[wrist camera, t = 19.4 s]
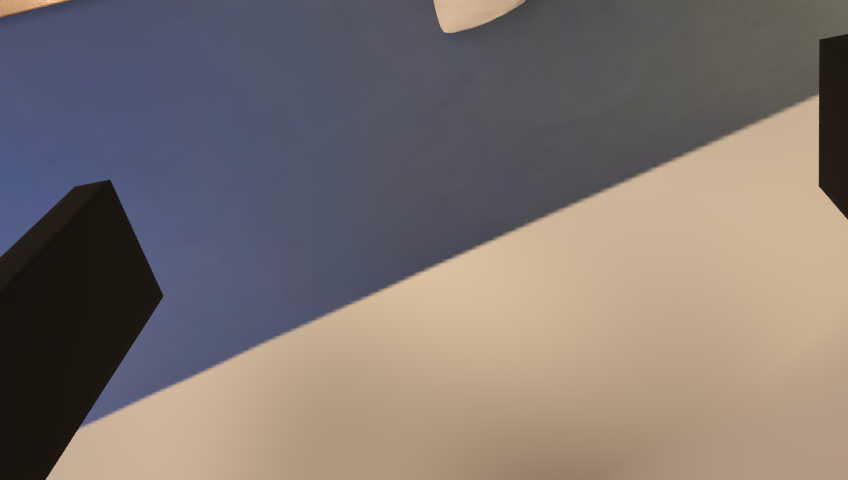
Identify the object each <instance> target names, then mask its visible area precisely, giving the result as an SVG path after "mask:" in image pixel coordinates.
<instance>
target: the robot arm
mask: <svg viewBox="0 0 848 480" xmlns="http://www.w3.org/2000/svg"><path fill="white" fill-rule="evenodd" d="M819 187H820V188H821V189H822V190H823V191H824V193H825V194H826V195H827V196H828V197H829V198H830V199H831V201H832V202H833V203H834V204H835V205H836V206H837V208H838V209H839V210H840V211H841V212H842V213H843V214H844V216H845V217H846V218H847V219H848V34H846V35H841V36H836V37H831V38H826V39H821V40H820V54H819ZM162 298H163V294H162V292H161V290H160V288H159V285H158V283H157V281H156V279H155V277H154V274H153V272H152V270H151V268H150V266H149V264H148V261H147V259H146V257H145V255H144V253H143V250H142V248H141V246H140V244H139V242H138V240H137V237H136V235H135V233H134V231H133V229H132V226H131V224H130V222H129V220H128V218H127V215H126V213H125V211H124V209H123V207H122V205H121V202H120V200H119V198H118V196H117V194H116V191H115V189H114V187H113V185H112V183H111V181H110V180H106V181H101V182H96V183H91V184H86V185H81V186H76V187H74V188H73V189H72V190H71V191H70V192H69V193H68V194H67V195H66V196H65V197H64V198H62V199H61V200H60V201H59V202H58V203H57V204H56V205H55V206H54V207H53V208H52V209H51V210H50V211H49V212H48V213H47V214H46V215H45V216H44V217H42V218H41V219H40V220H39V221H38V222H37V223H36V224H35V225H34V226H33V227H32V228H31V229H30V230H29V231H28V232H27V233H26V234H25V235H24V236H23V237H21V238H20V239H19V240H18V241H17V242H16V243H15V244H14V245H13V246H12V247H11V248H10V249H9V250H8V251H7V252H6V253H5V254H4V255H3V256H1V257H0V480H46V478H47V477H48V475H49V474H50V472H51V470H52V469H53V467H54V466H55V464H56V463H57V461H58V459H59V458H60V456H61V455H62V453H63V452H64V450H65V448H66V447H67V446H68V444H69V442H70V441H71V439H72V437H73V436H74V435H75V433H76V432H77V430H78V428H79V427H80V425H81V424H82V422H83V421H84V419H85V418H86V416H87V414H88V413H89V411H90V410H91V408H92V407H93V405H94V404H95V402H96V400H97V399H98V397H99V396H100V394H101V393H102V391H103V390H104V388H105V386H106V385H107V383H108V382H109V380H110V379H111V377H112V376H113V374H114V372H115V371H116V369H117V368H118V366H119V365H120V363H121V362H122V360H123V358H124V357H125V355H126V354H127V352H128V351H129V349H130V348H131V346H132V344H133V343H134V341H135V340H136V338H137V337H138V335H139V334H140V332H141V330H142V329H143V327H144V326H145V324H146V323H147V321H148V320H149V318H150V316H151V315H152V313H153V312H154V310H155V309H156V307H157V306H158V304H159V302H160V301H161V299H162Z"/></svg>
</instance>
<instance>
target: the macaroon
mask: <svg viewBox="0 0 848 480" xmlns="http://www.w3.org/2000/svg"><path fill="white" fill-rule="evenodd" d="M524 2H525V0H434V5H435V9H436V13H437V17H438V20H439V23H440V27H441V28H442V30H443V31H444V32H446V33H453V32H458V31H462V30H466V29H470V28H473V27H476V26H479V25H482V24H485V23H487V22H489V21H491V20H493V19H495V18H497V17H499V16H502V15H504V14H506V13H508V12H509V11H511V10H513V9H514V8H516V7H518V6H519V5H521V4H523V3H524Z"/></svg>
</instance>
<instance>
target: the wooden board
mask: <svg viewBox="0 0 848 480" xmlns="http://www.w3.org/2000/svg"><path fill="white" fill-rule="evenodd" d="M66 1H70V0H0V18H1V17H5V16H9V15H13V14H17V13H21V12H25V11H29V10H33V9H37V8H41V7H45V6H49V5H53V4H58V3H62V2H66Z"/></svg>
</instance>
